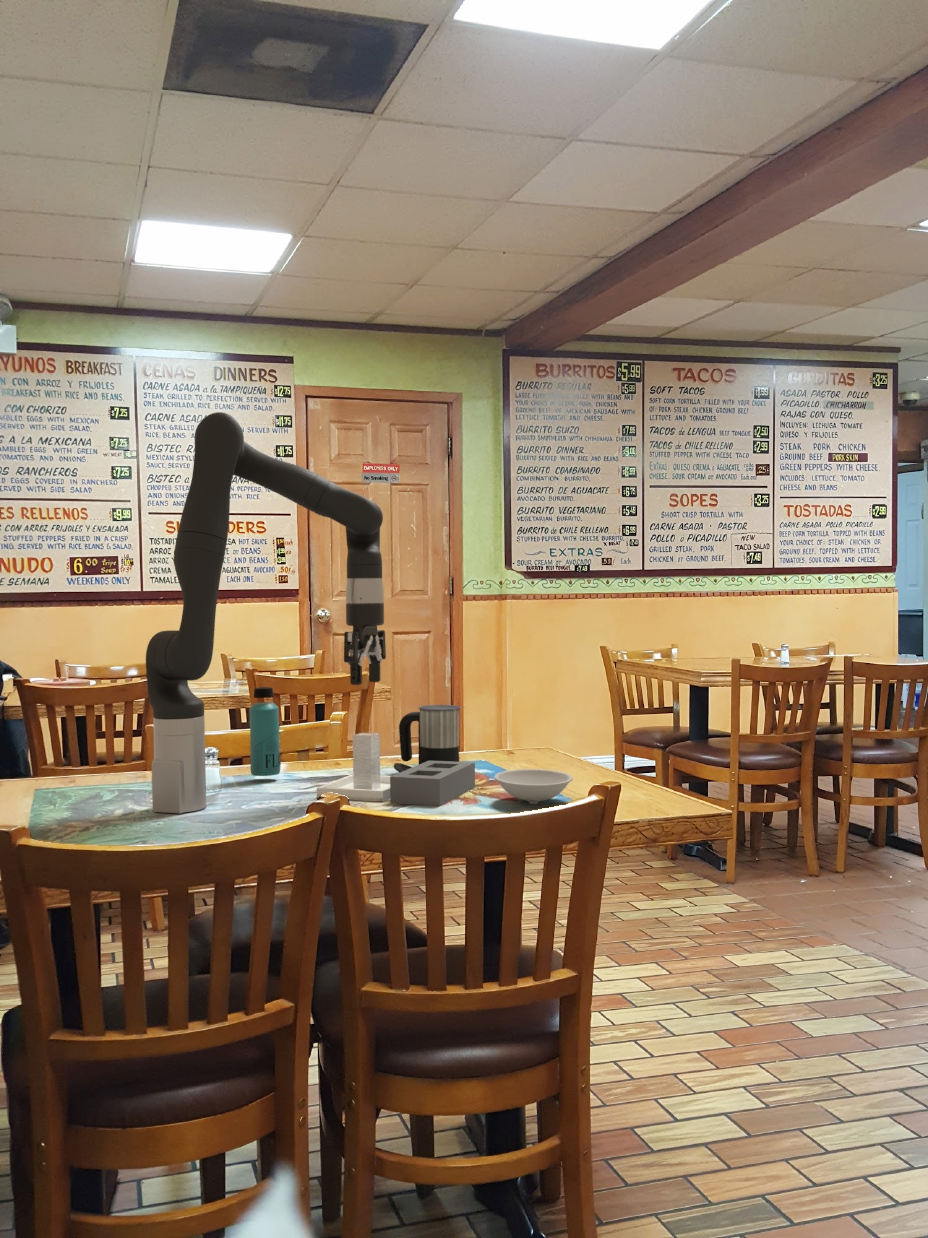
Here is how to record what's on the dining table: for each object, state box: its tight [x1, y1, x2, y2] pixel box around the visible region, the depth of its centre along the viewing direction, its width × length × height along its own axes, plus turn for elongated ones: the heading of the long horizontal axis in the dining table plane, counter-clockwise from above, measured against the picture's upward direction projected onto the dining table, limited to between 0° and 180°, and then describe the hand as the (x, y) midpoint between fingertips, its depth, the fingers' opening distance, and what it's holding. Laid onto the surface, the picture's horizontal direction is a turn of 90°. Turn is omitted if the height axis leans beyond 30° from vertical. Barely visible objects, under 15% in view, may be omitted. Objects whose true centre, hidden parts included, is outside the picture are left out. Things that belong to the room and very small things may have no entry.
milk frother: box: [392, 704, 461, 773], centre depth 231 cm, size 14×16×15 cm
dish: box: [493, 768, 574, 805], centre depth 200 cm, size 18×14×5 cm
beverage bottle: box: [249, 686, 282, 777], centre depth 229 cm, size 6×7×20 cm
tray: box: [316, 773, 392, 802], centre depth 214 cm, size 16×14×2 cm
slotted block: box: [389, 761, 476, 807], centre depth 210 cm, size 20×10×5 cm, turn 160°
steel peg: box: [352, 732, 381, 790], centre depth 213 cm, size 4×4×11 cm
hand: (365, 683), depth 213 cm, fingers open, 8 cm apart
